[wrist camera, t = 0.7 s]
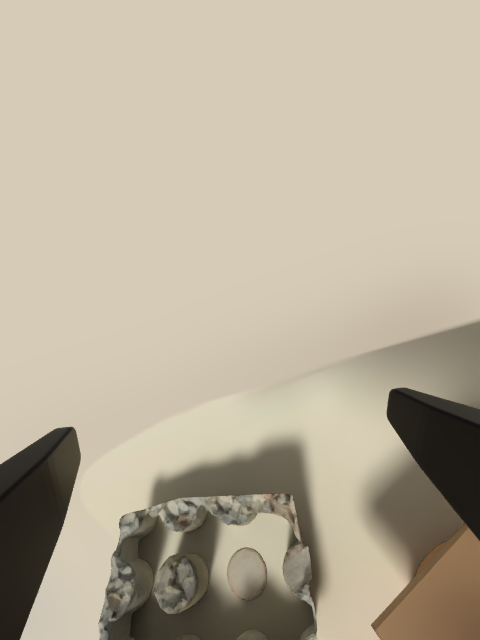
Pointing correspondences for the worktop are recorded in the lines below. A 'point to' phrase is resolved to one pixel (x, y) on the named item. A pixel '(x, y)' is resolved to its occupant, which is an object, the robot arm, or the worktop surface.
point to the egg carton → (198, 562)
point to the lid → (439, 597)
